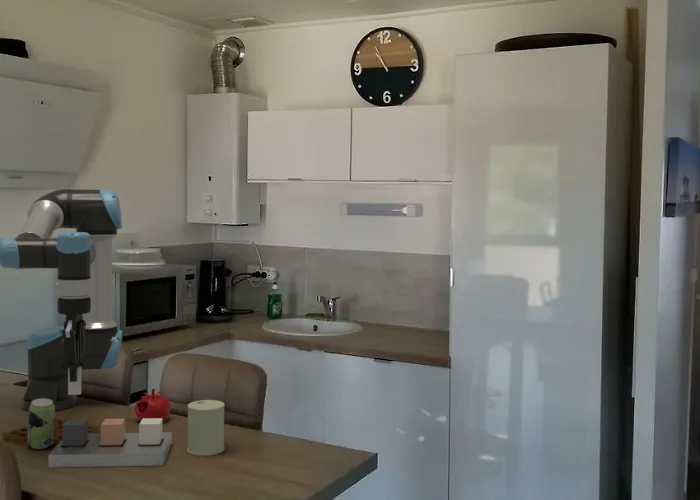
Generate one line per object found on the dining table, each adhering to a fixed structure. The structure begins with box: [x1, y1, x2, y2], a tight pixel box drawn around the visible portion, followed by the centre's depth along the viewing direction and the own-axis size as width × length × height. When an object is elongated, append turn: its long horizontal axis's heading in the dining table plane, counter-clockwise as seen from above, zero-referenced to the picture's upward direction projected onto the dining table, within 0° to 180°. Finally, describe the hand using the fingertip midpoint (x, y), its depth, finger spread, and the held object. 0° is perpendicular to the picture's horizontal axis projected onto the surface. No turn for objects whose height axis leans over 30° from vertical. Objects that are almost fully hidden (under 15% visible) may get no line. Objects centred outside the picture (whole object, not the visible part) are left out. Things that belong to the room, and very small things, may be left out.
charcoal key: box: [61, 418, 89, 446], centre depth 185 cm, size 5×5×5 cm
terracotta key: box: [100, 418, 126, 445], centre depth 186 cm, size 5×5×5 cm
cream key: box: [138, 418, 163, 445], centre depth 187 cm, size 5×5×5 cm
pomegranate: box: [134, 388, 172, 423], centre depth 215 cm, size 10×10×9 cm
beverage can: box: [26, 398, 56, 450], centre depth 191 cm, size 6×7×12 cm
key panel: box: [48, 431, 173, 469], centre depth 186 cm, size 16×26×3 cm, turn 96°
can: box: [186, 399, 226, 457], centre depth 191 cm, size 9×9×12 cm
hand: (74, 393), depth 184 cm, fingers closed
